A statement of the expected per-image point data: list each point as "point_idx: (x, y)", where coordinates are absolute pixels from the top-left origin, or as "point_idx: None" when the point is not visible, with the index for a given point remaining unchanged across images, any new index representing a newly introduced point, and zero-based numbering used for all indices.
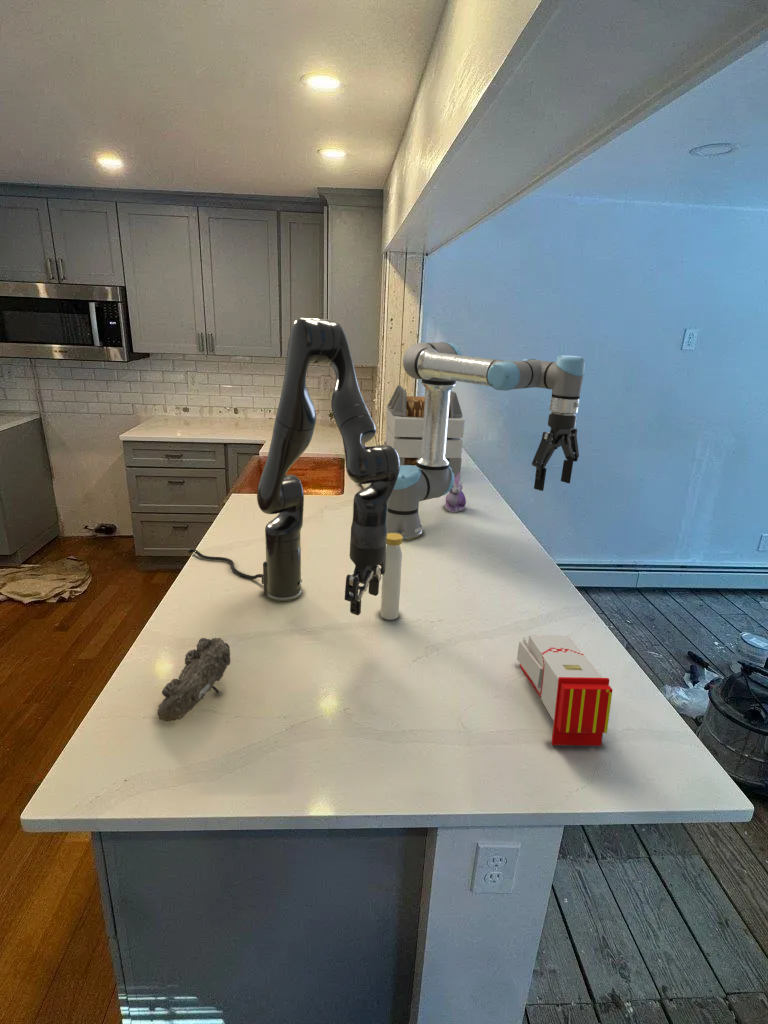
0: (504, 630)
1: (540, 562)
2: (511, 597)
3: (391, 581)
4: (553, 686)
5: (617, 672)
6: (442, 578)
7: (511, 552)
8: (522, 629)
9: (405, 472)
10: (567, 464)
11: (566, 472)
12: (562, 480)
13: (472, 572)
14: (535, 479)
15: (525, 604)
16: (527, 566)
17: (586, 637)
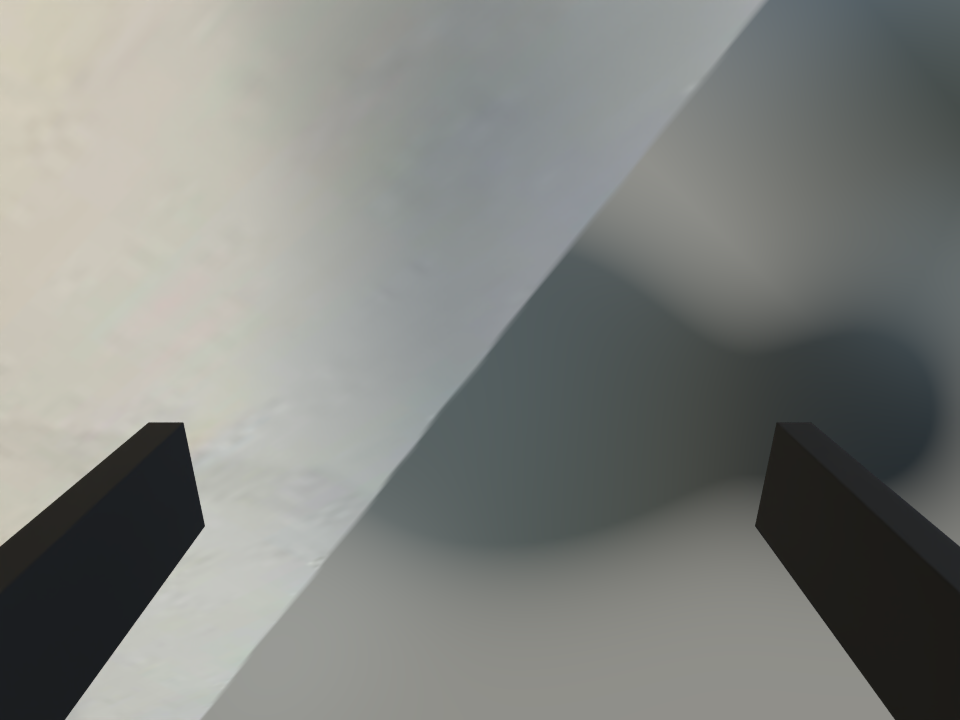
0: (19, 442)
1: (581, 190)
2: (198, 322)
3: None
4: None
5: (169, 690)
6: (17, 4)
7: (571, 6)
8: (80, 469)
9: None
10: (956, 703)
11: (846, 577)
12: (777, 455)
13: (201, 52)
14: (64, 501)
15: (207, 383)
16: (490, 179)
17: (228, 588)
